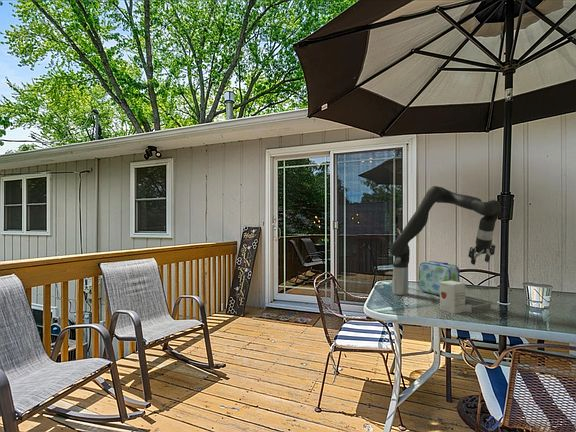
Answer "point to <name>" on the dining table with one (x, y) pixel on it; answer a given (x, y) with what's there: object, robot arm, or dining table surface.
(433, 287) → the lunch box
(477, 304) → the tray
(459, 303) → the supplement box
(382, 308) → the dining table surface
